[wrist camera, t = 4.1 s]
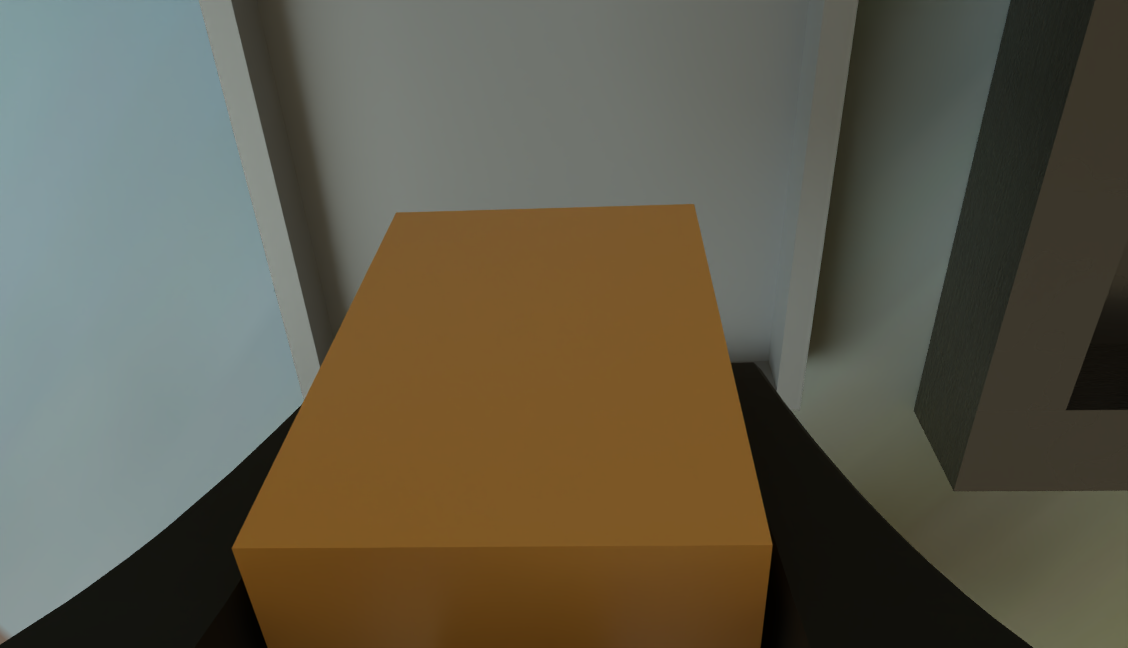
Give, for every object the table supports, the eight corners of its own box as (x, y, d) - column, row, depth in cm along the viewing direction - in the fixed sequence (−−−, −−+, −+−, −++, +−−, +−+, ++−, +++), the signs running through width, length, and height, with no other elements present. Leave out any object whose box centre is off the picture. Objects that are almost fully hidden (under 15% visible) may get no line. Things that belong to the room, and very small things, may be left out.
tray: (785, 366, 22) (799, 410, 20) (327, 371, 22) (307, 414, 21) (854, -175, 15) (882, -169, 14) (204, -147, 16) (162, -138, 14)
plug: (685, 438, 13) (757, 982, 7) (434, 441, 14) (297, 972, 7) (694, 204, 11) (806, 696, 5) (395, 212, 11) (161, 691, 5)
